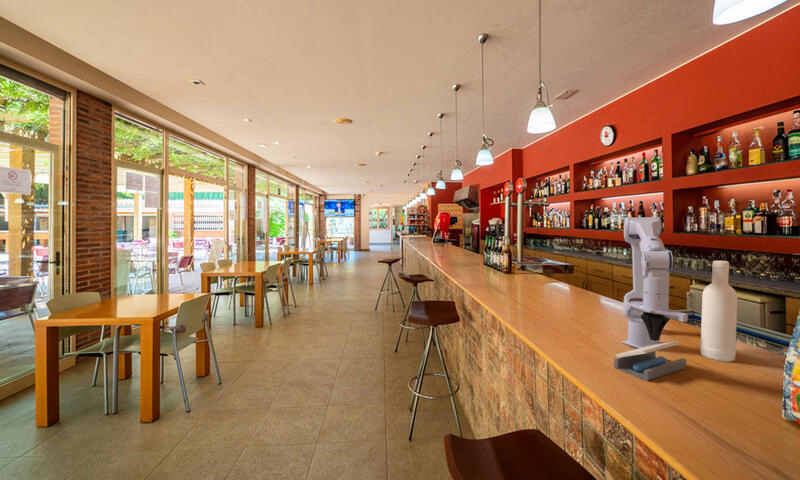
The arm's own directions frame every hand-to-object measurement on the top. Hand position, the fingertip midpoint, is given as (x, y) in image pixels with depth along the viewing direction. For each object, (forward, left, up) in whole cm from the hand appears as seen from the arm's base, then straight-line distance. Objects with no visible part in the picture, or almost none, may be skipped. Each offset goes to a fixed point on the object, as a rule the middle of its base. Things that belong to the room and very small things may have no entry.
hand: (654, 339), depth 94 cm
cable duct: (0, -1, -9) cm, 9 cm away
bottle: (-27, +3, -9) cm, 29 cm away
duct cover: (0, -2, -4) cm, 4 cm away
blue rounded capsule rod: (0, -1, -9) cm, 9 cm away
